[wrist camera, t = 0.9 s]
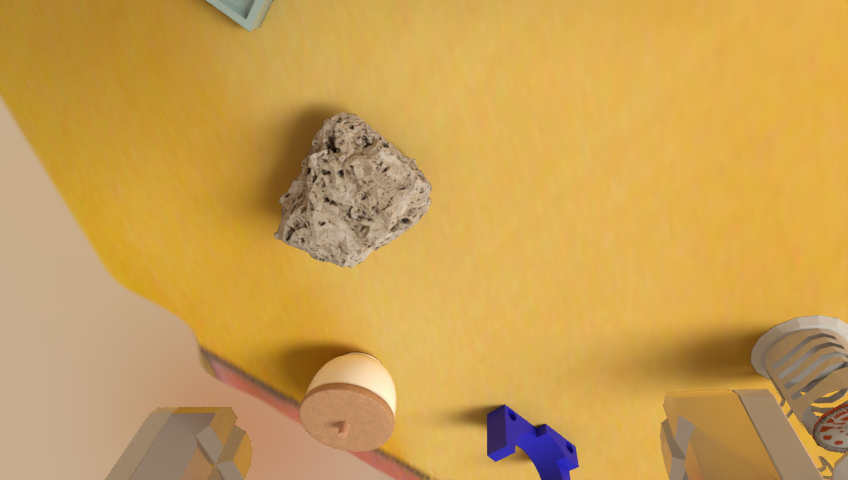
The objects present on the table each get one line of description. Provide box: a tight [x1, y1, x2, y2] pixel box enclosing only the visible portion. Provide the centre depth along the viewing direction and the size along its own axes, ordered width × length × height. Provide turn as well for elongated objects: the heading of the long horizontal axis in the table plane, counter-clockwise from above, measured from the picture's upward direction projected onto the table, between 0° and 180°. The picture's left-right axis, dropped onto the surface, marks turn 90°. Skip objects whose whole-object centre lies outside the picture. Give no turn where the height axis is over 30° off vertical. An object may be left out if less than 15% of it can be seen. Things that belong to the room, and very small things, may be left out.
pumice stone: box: [274, 112, 432, 268], centre depth 44 cm, size 14×12×8 cm
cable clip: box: [487, 405, 579, 480], centre depth 62 cm, size 12×4×6 cm, turn 47°
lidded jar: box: [299, 352, 396, 452], centre depth 58 cm, size 11×11×9 cm
